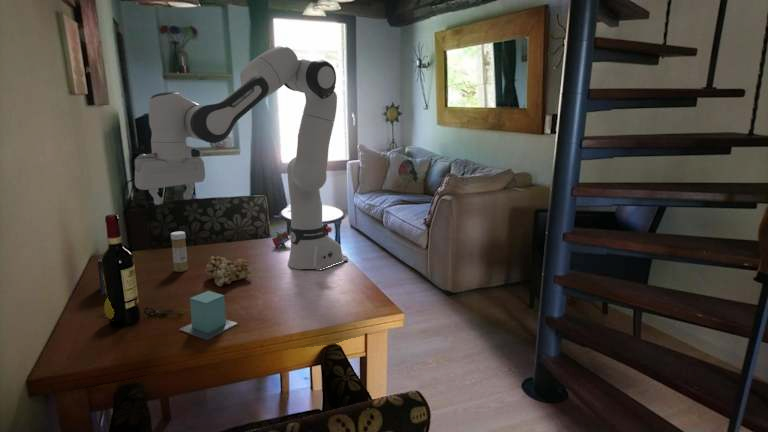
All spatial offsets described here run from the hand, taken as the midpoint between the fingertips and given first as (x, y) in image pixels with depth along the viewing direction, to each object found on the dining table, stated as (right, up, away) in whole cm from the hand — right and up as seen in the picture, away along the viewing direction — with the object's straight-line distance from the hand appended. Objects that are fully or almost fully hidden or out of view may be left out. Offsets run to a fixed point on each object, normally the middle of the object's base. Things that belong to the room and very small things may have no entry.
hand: (173, 201), depth 131 cm
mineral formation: (+8, -25, +22) cm, 35 cm away
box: (-24, -27, +12) cm, 38 cm away
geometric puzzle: (+17, -17, +59) cm, 64 cm away
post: (+14, -33, -12) cm, 38 cm away
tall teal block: (+15, -32, -12) cm, 37 cm away
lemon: (-10, -32, -9) cm, 35 cm away
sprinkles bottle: (-11, -23, +30) cm, 39 cm away
